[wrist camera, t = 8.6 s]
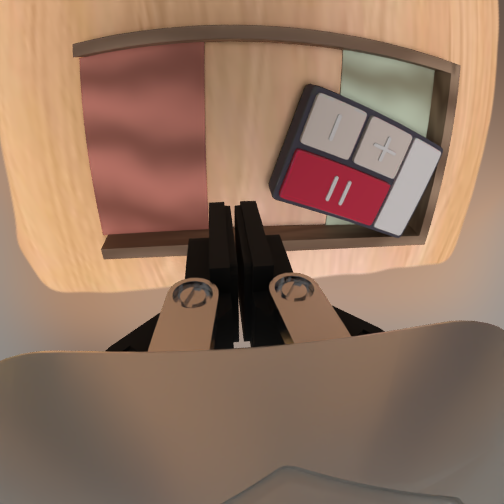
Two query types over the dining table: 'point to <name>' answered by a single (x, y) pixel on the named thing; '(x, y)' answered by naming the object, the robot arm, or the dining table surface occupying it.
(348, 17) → the dining table surface
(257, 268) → the robot arm
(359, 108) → the calculator
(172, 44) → the brown wooden tray
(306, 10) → the dining table surface
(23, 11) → the dining table surface
